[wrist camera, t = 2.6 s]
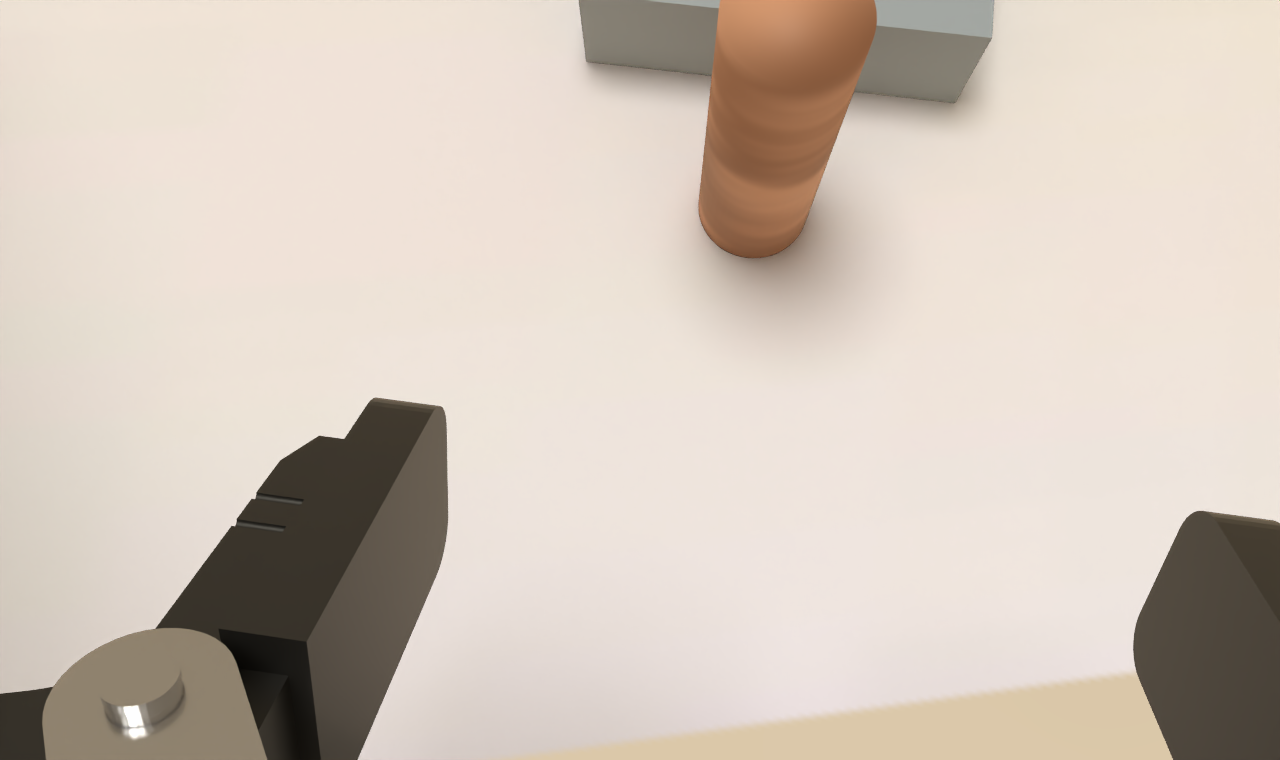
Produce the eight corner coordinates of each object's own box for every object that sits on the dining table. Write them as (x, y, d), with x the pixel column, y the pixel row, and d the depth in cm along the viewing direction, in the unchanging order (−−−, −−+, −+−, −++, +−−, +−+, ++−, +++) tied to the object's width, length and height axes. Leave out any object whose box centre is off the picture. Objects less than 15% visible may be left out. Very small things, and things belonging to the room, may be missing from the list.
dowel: (677, 191, 31) (688, -7, 21) (767, 138, 32) (818, -79, 22) (737, 277, 30) (775, 113, 21) (828, 222, 31) (908, 36, 21)
